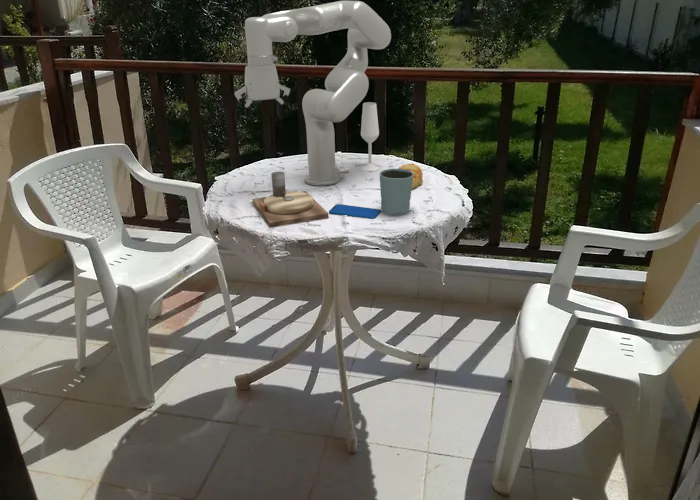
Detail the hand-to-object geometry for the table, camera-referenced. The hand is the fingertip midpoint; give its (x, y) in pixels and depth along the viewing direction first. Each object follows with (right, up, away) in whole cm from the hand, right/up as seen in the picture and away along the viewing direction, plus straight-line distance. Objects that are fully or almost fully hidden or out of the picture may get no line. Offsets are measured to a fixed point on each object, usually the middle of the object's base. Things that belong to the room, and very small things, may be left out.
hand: (264, 118), depth 185 cm
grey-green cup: (+41, -29, -3) cm, 51 cm away
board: (+8, -29, -2) cm, 30 cm away
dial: (+8, -27, -2) cm, 29 cm away
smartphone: (+28, -30, -4) cm, 42 cm away
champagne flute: (+34, -11, +36) cm, 51 cm away
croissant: (+47, -18, +20) cm, 54 cm away
